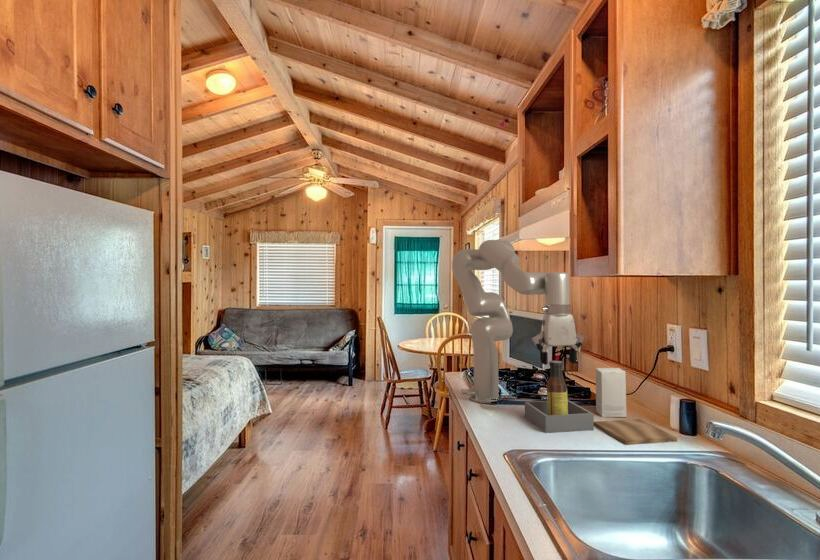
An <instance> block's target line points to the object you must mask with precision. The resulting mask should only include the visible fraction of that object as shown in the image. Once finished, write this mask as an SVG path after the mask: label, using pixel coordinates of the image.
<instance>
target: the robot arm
mask: <svg viewBox="0 0 820 560" xmlns="http://www.w3.org/2000/svg"><path fill="white" fill-rule="evenodd" d="M515 250H516V249H515V247H514V245H513V244H512V243H511V242H510V241H507V240H501V239H487V240H484V241H483V242H482V243H481V244H480V245H479V247H478V248H477V249H476V248H464V249H460V250H458V251H457V252H456V253H455V254H454V255H453V258H452V262H451V263H452V264H451V267H452V268H451V269H452V273H453V276H454V278H455V281H456V282H457V284H458V286H459V288H460V291H461V296H462V297H463V301H464V304H465V307H466V309H467V312H468V314H469V315H471V316H472V317H479V318H477V319H475V320H474V321H473V322H472V324H471V326H470V334H471V335H470V336H471V340H472V349H473V351H472V352H473V385H472V386H471V387H470V388H468V389H467V388H466V389H465V388H464V389H462V388H461V395H466V396H469V399H470V401H473V402H475V403H481V404H492V403H491V402H494V401H497V399H496V398H498V397H499V352H498V349H497V346H496V344H495V342H500V341H506V340H509V339H510V338H511V337H512V335H513V332H514V328H513V327H514V326H513V322H512V320H511V317H510V315H509V312H508V308H507V305H506V303H505V301H504V299H503V298H502V296H501V295H500V294H498V293H496V292H492V291H491V292H490V291H489V292H486V291H485V290H484V289H483V285H482V283H481V280H480V279H479V277H478V276H477V275H476V274H475V273H474V272H473V271H489V270H493V269H496V270H497V271H499V273H501V276H502V279H503V281H504V283H505V285H507V286H509V287H510V289H512V290H513V291H515V292H517V293H518V294H521V295H525V296H529V295H530V296H531V295H533V296H534V295H535V296H537V295H538V296H539V295H544V303H545V304H544V306H542V307H541V308H540V309H541V311H542V312H544V313H545V314H543V317H542V321H541V332H540V333H539V334H537V335H535V336H533V337H532V338H531V341H532V343H533V344H534V346H535V348H536V349H538V351H539V359H540V362H541V364H543V365H545V366H547V365H548V364H549V363H548V361H549V360H548V358H549V357H548V352H547V350H548V349H549V348H550V347H568V348H569V350H568V355H569V356H568V360H569V361H568V362H569V363H571V364H577V360H578V358H577V357H578V355H577V354H578V351H579V348H580V347H581V346H582V344H583V342H584V339H585V337H584V336H583V335H581V334H579V333H578V332H577V331H576V323H575V320H574V319H575V318H574V315H573V314H572V313H571V305H570V303H571V302H570V300H571V299H570V276H569V274H568V272H564V271H552V272H550V271H549V272H540V271H537V272H536V271H535V272H533V271H530V272H529V271H528V272H527V271H525V270H523V269H521V268H520V267H519V266H520V261H521V260H520V256H519V255H518V254H517V253H516V252H515ZM539 340H541V343H540V342H539ZM489 399H490V400H489ZM491 399H496V400H491ZM498 400H499V399H498Z"/></svg>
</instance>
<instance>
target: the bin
mask: <svg viewBox="0 0 820 560" xmlns="http://www.w3.org/2000/svg"><path fill="white" fill-rule="evenodd" d="M594 415H595V414H594V413H593V412H591V411H589V410H588V409H587V408H584V407H582V406H580V405H578V404H577V403H575V402H573V401H571V400H569V399H568V414H564V415H548V404H547V400H537V401H536V400H532V401H524V417H525V418H526V419H528V421H530V422H531V423H532V424H534V425H535V426H536V427H538V429H540V430H541V431H542V432H544V433H546V434H548V433H549V434H550V433H566V432H580V431H581V432H583V431H594V429H595V426H594V422H595V421H594V417H595V416H594Z"/></svg>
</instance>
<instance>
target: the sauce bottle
mask: <svg viewBox="0 0 820 560" xmlns="http://www.w3.org/2000/svg"><path fill="white" fill-rule="evenodd" d="M548 364H549V370H550V371H549V378H548V379H547V381H546V387H547V388H546V401H547V404H548V415H564V414H568V400H569V399H568V386H567V384H566V383H567V382H566V381H565V377H564V375H563V365H564V364H563V361H562V360H550V361H549V363H548Z"/></svg>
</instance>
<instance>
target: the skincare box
mask: <svg viewBox="0 0 820 560" xmlns="http://www.w3.org/2000/svg"><path fill="white" fill-rule="evenodd" d="M626 373H627V371H625V370H623V369H621V368H620V367H595V406H596V408H595V409H596V410H595V411H596V413H597V414H599V415H600V416H601V418H627V417H628V416H627V381H626V379H627V377H626V375H627V374H626Z"/></svg>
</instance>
